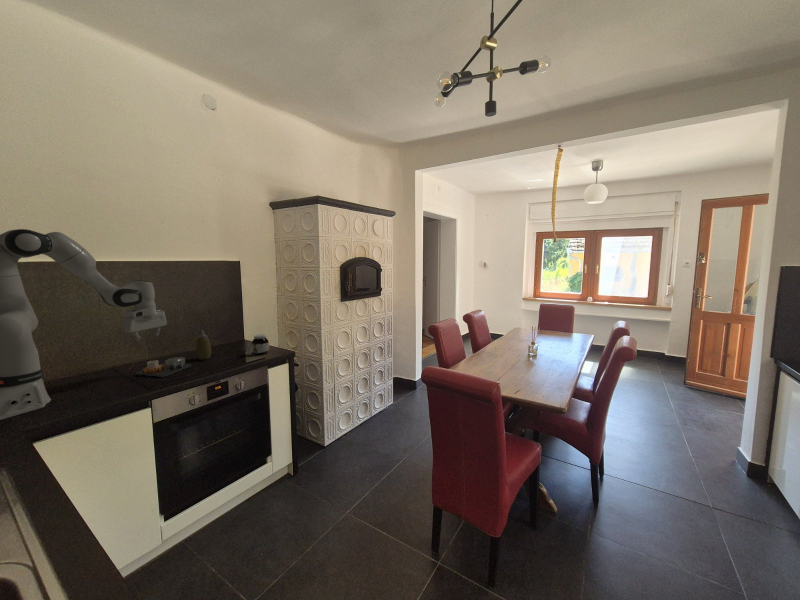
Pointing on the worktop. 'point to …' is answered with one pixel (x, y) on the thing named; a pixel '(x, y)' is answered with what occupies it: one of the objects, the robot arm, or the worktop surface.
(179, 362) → the carrier
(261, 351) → the spread jar
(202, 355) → the squeeze bottle
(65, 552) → the worktop surface
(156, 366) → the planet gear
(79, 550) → the worktop surface
